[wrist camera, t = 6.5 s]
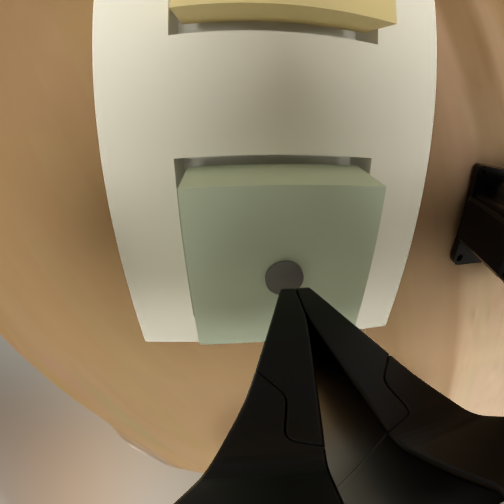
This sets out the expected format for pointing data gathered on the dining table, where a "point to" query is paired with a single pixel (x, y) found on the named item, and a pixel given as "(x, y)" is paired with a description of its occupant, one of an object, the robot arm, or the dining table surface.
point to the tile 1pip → (275, 241)
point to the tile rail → (254, 129)
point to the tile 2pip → (291, 12)
